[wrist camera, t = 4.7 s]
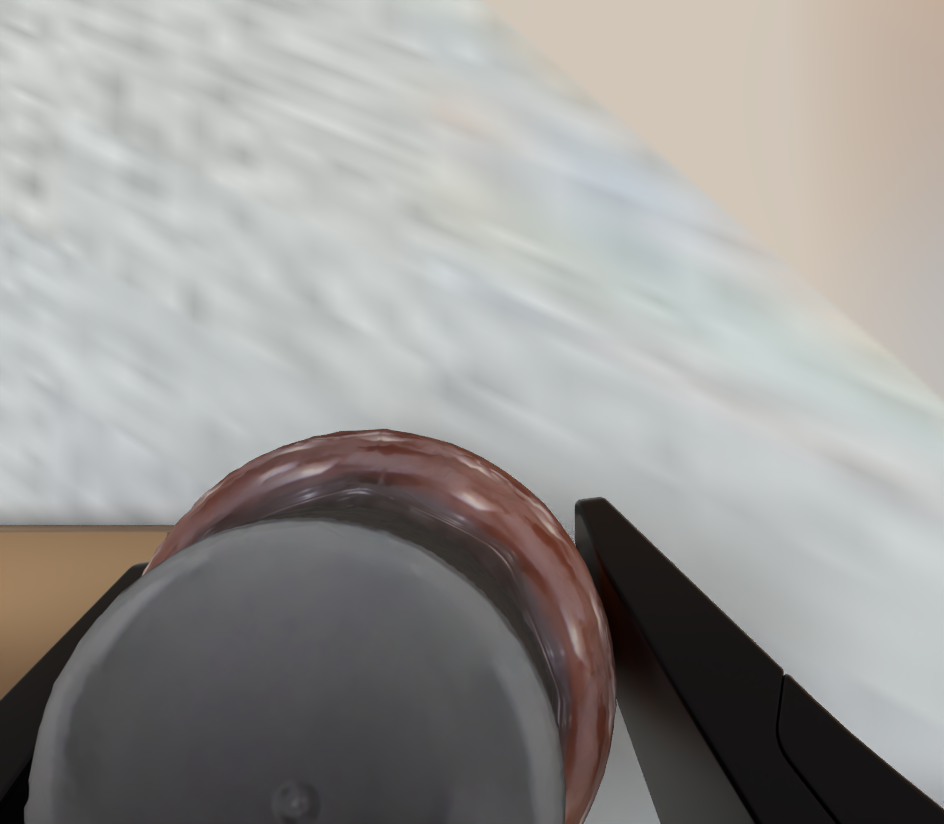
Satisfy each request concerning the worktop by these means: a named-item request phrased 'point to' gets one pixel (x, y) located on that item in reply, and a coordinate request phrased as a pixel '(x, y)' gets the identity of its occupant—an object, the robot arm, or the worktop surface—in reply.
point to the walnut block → (59, 582)
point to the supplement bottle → (341, 655)
